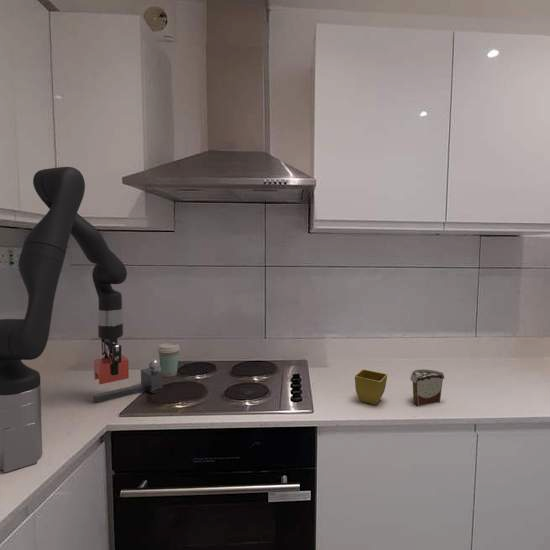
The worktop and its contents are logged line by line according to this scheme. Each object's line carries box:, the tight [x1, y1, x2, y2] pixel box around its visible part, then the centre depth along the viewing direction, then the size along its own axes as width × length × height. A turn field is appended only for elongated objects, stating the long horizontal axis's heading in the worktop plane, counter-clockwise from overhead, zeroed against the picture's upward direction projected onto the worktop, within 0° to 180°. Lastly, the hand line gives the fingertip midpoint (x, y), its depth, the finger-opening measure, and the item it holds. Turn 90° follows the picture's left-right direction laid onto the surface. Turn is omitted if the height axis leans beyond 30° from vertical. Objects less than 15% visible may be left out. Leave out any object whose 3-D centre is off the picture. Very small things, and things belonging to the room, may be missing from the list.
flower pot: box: [354, 369, 388, 405], centre depth 120 cm, size 9×9×9 cm
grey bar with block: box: [92, 358, 164, 404], centre depth 123 cm, size 10×22×11 cm, turn 130°
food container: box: [410, 369, 445, 407], centre depth 121 cm, size 12×6×10 cm, turn 111°
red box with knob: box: [93, 354, 130, 385], centre depth 120 cm, size 6×9×7 cm
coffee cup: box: [157, 342, 181, 378], centre depth 143 cm, size 8×8×12 cm
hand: (111, 371), depth 120 cm, fingers closed on red box with knob, 6 cm apart
